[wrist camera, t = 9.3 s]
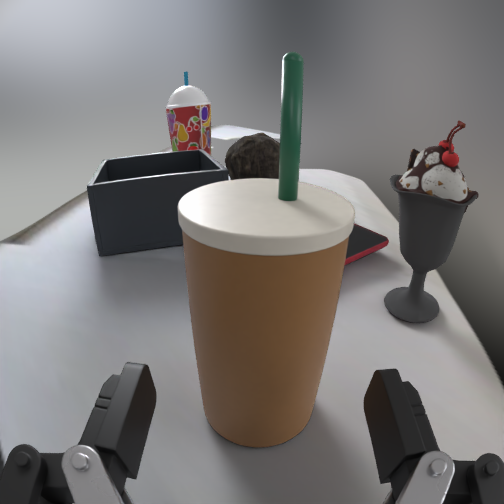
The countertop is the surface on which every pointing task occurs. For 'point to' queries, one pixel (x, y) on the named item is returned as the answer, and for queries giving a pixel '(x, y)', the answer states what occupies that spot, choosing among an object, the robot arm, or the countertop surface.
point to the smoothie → (189, 119)
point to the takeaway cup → (264, 287)
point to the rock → (253, 158)
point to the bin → (146, 198)
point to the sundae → (427, 223)
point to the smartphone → (363, 243)
